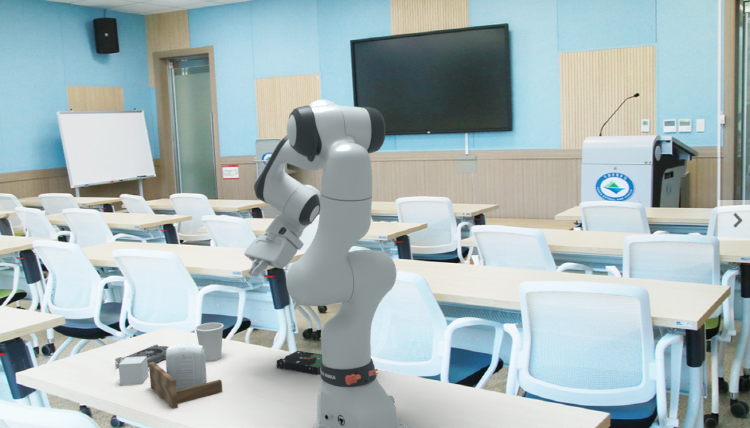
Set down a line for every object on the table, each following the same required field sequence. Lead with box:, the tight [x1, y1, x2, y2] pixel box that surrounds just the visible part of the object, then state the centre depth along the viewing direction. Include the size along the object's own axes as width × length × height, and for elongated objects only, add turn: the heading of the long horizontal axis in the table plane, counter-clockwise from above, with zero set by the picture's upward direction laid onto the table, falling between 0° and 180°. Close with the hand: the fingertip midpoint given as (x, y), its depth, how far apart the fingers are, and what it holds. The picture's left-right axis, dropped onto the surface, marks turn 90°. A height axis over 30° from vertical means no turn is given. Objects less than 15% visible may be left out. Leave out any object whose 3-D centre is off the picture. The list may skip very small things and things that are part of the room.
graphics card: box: [114, 344, 169, 373], centre depth 202 cm, size 17×4×12 cm
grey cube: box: [118, 356, 149, 386], centre depth 185 cm, size 6×6×6 cm
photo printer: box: [165, 342, 208, 390], centre depth 177 cm, size 10×4×12 cm, turn 92°
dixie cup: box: [195, 322, 225, 362], centre depth 202 cm, size 8×8×10 cm
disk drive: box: [276, 350, 322, 376], centre depth 192 cm, size 10×3×15 cm
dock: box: [148, 362, 223, 409], centre depth 175 cm, size 18×14×7 cm
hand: (251, 275), depth 182 cm, fingers closed
